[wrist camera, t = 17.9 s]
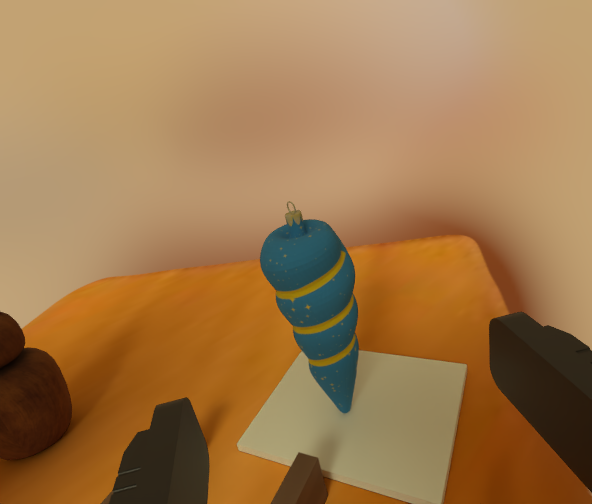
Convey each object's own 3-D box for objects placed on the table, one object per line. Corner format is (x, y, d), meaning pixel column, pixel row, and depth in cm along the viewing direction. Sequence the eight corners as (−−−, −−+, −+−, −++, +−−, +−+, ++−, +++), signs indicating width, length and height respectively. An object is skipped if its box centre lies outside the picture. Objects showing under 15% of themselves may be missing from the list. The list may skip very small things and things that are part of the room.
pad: (238, 450, 27) (236, 444, 27) (308, 348, 36) (306, 343, 36) (441, 512, 21) (440, 504, 21) (467, 370, 30) (466, 364, 29)
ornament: (341, 455, 25) (278, 225, 19) (292, 413, 29) (228, 214, 23) (397, 405, 27) (357, 189, 22) (345, 373, 31) (299, 184, 26)
